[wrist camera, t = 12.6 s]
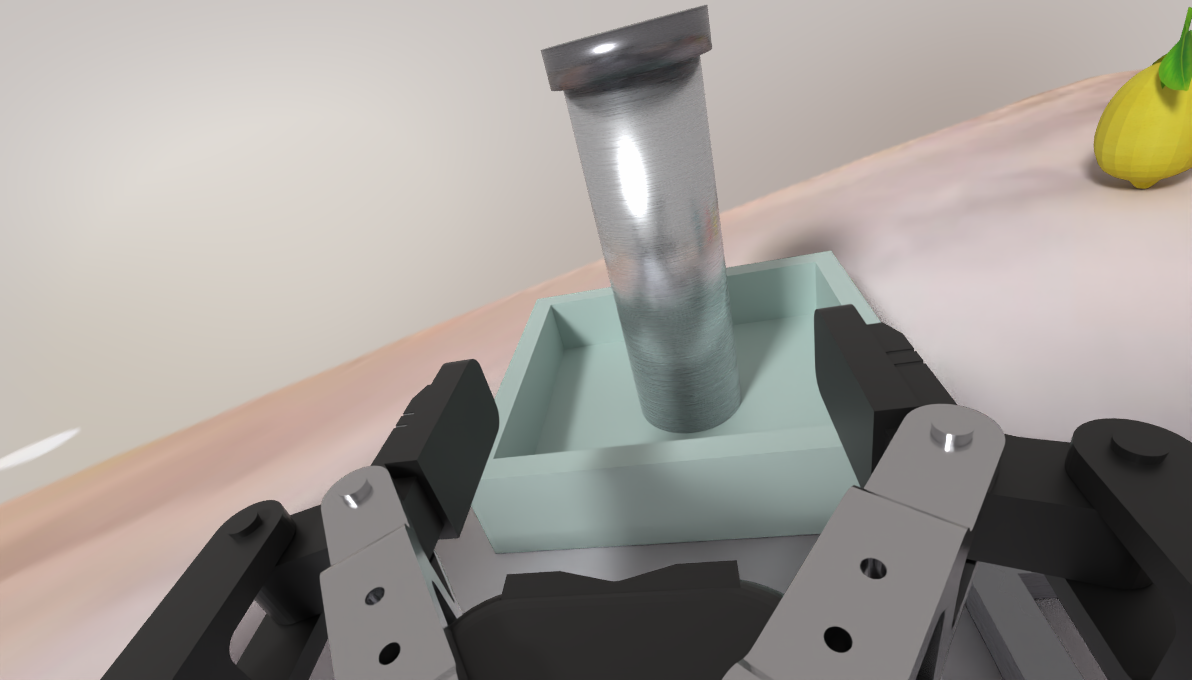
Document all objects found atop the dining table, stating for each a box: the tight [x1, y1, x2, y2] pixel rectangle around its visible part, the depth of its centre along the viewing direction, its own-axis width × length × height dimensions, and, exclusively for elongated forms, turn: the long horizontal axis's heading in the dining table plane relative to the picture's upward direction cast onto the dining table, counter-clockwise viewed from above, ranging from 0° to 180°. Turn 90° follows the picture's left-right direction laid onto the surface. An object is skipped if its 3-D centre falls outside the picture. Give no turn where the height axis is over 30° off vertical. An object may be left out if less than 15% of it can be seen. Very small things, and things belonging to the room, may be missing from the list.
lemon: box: [1094, 7, 1192, 189], centre depth 31 cm, size 7×6×10 cm
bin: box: [471, 251, 881, 554], centre depth 24 cm, size 16×14×4 cm
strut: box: [541, 5, 741, 433], centre depth 21 cm, size 5×5×15 cm
